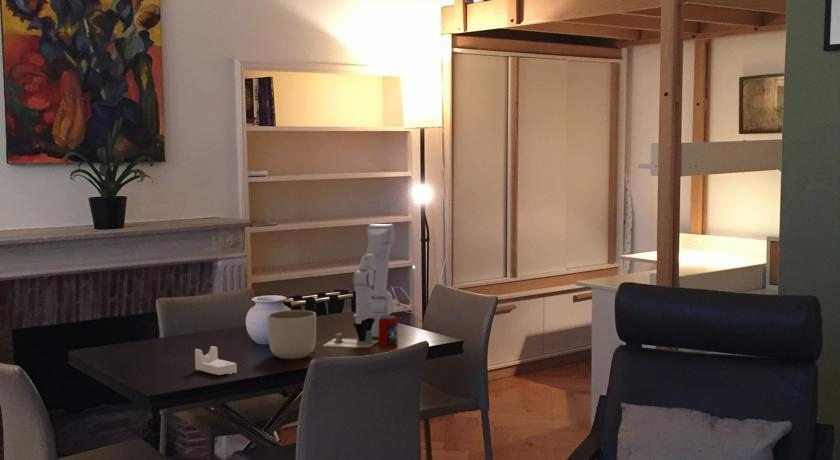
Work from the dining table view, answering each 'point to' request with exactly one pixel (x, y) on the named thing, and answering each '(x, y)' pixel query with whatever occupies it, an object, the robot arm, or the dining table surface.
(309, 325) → the planter
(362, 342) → the cap
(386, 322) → the beverage can
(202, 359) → the bracket
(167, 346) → the dining table surface
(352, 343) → the stud plate
